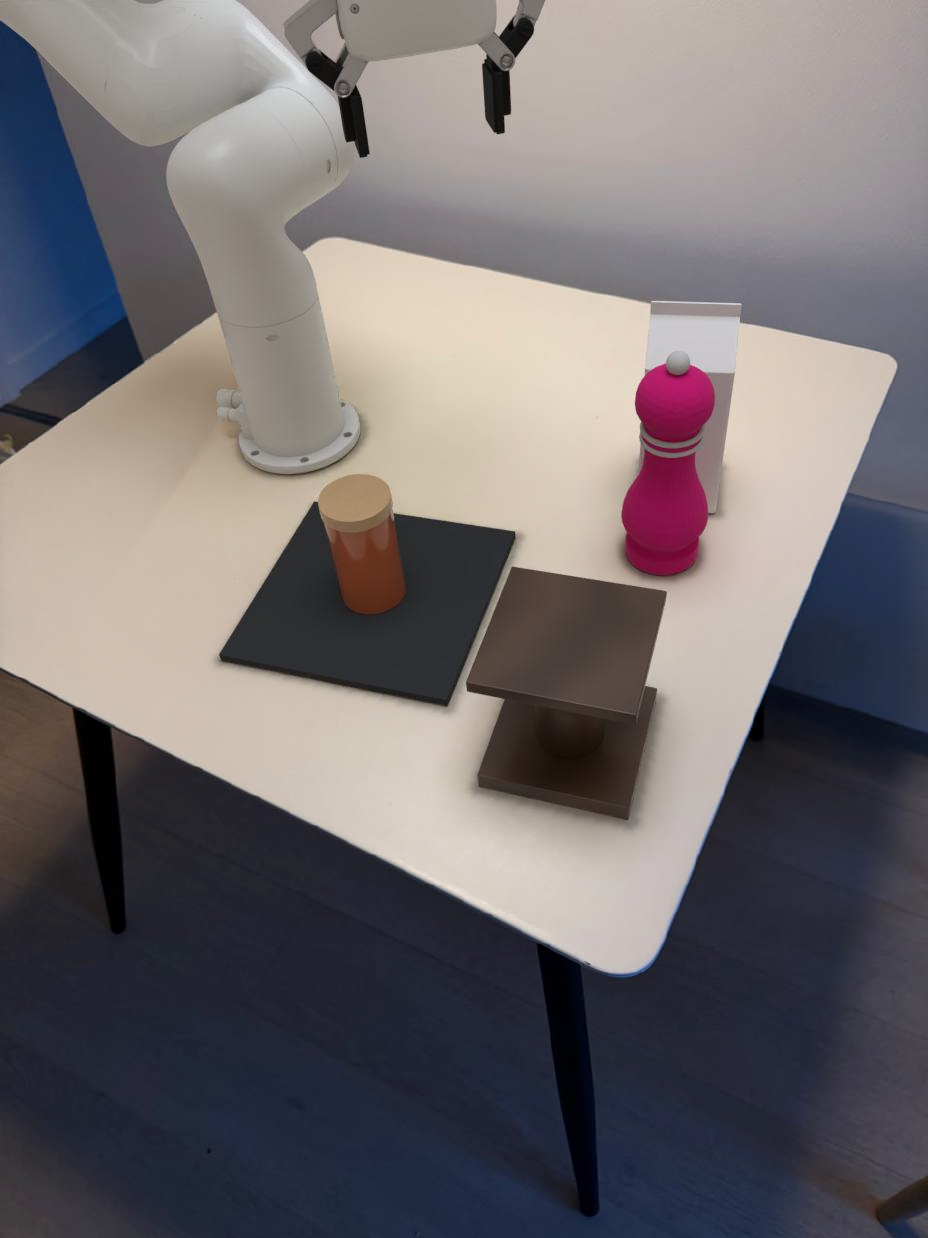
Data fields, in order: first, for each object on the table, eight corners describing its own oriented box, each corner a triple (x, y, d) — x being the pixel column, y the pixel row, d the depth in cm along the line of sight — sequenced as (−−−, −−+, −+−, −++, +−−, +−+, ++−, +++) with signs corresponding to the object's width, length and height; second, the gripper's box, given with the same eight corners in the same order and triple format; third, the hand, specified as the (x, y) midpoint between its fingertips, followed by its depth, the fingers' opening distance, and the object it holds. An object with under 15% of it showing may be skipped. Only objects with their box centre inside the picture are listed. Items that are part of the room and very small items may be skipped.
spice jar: (330, 609, 84) (306, 515, 77) (355, 563, 88) (334, 469, 80) (393, 621, 83) (375, 526, 75) (416, 573, 87) (401, 478, 79)
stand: (478, 787, 72) (465, 682, 63) (518, 674, 79) (511, 565, 70) (628, 820, 69) (636, 715, 60) (656, 700, 76) (667, 590, 67)
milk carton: (715, 515, 90) (741, 327, 76) (636, 509, 91) (647, 324, 77) (717, 466, 95) (742, 281, 81) (642, 461, 96) (654, 279, 82)
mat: (220, 660, 83) (218, 654, 82) (315, 507, 95) (314, 500, 95) (447, 706, 77) (446, 700, 77) (515, 537, 90) (515, 531, 89)
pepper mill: (682, 590, 84) (706, 390, 69) (605, 563, 87) (612, 365, 72) (715, 539, 88) (744, 339, 73) (640, 515, 91) (654, 318, 76)
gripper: (525, -197, 61) (533, 100, 73) (245, -157, 59) (302, 139, 72) (559, -178, 56) (562, 137, 68) (254, -134, 54) (314, 180, 67)
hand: (429, 138), depth 70 cm, fingers open, 9 cm apart
